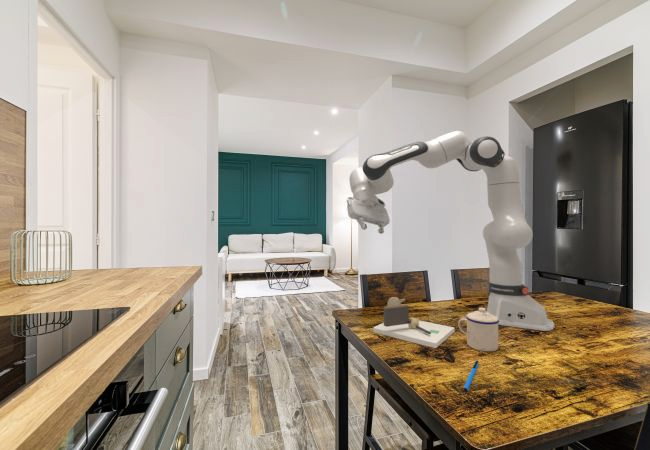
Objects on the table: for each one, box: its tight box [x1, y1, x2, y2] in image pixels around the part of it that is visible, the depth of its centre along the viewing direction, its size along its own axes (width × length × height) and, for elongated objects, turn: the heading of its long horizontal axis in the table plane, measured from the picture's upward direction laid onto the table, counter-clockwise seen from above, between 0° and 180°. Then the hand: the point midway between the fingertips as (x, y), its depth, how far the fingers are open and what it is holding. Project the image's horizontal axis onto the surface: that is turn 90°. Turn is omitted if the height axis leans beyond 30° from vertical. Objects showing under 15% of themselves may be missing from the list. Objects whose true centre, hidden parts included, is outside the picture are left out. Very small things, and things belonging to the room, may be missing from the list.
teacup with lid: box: [458, 307, 499, 352], centre depth 96 cm, size 12×9×12 cm
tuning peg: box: [383, 304, 431, 334], centre depth 102 cm, size 13×10×8 cm
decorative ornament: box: [386, 296, 406, 307], centre depth 136 cm, size 4×8×5 cm, turn 45°
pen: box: [463, 360, 480, 394], centre depth 76 cm, size 1×19×1 cm, turn 146°
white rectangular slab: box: [372, 319, 456, 349], centre depth 107 cm, size 22×18×2 cm
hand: (373, 230), depth 120 cm, fingers open, 8 cm apart
